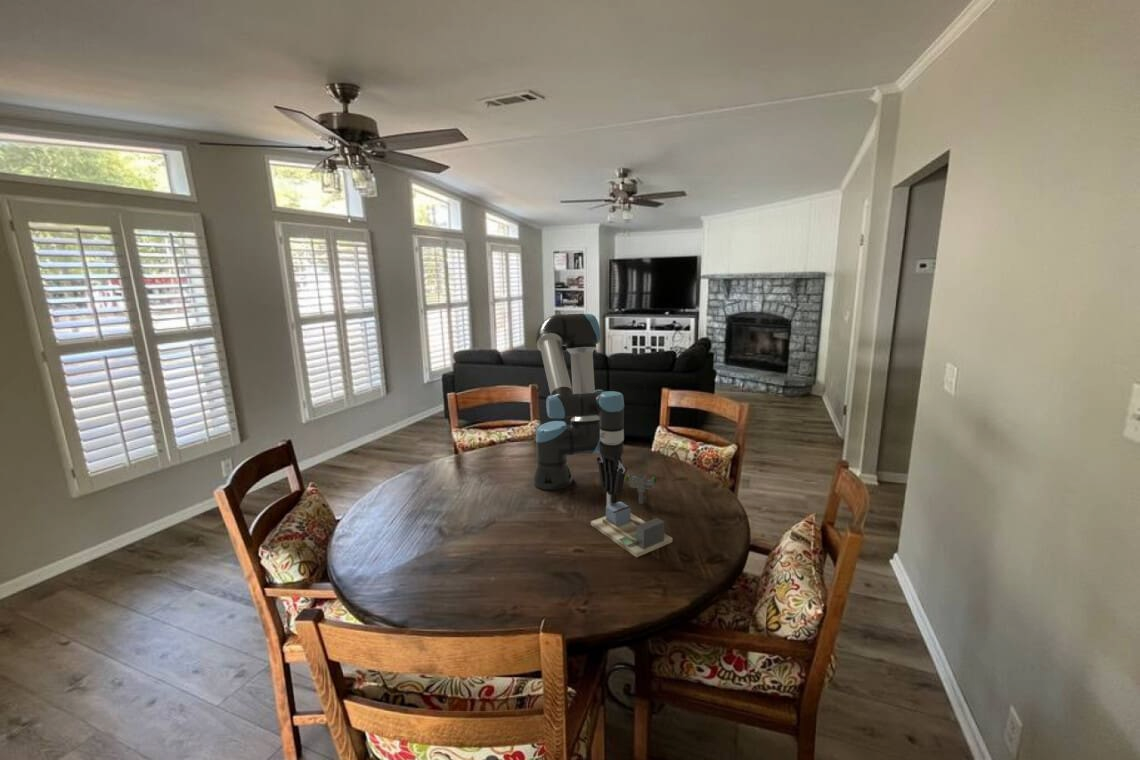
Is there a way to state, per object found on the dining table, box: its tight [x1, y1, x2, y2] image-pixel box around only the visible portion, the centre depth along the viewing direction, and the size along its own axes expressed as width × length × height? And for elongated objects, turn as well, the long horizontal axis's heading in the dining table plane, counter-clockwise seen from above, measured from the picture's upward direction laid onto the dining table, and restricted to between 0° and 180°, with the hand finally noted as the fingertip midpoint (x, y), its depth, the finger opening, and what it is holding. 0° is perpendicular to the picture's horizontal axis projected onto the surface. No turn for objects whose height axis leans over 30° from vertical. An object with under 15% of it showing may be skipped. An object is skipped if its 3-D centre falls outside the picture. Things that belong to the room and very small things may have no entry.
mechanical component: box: [625, 473, 657, 505], centre depth 163 cm, size 3×10×10 cm, turn 78°
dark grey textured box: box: [636, 517, 665, 549], centre depth 136 cm, size 3×8×6 cm, turn 123°
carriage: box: [605, 501, 633, 527], centre depth 148 cm, size 5×7×5 cm
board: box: [590, 512, 673, 558], centre depth 144 cm, size 22×14×2 cm, turn 33°
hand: (611, 510), depth 151 cm, fingers closed
